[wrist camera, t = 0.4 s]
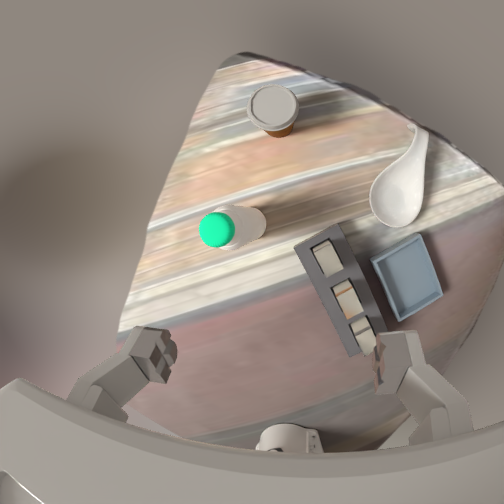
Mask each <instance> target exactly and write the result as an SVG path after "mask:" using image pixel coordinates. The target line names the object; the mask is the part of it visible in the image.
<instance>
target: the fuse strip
mask: <svg viewBox="0 0 504 504" xmlns="http://www.w3.org/2000/svg"><path fill="white" fill-rule="evenodd" d="M326 240H328V241H329V242H330V243H331V244H332V246H333V248H334V250H335V252H336V254H337V256H338V258H339V260H340V262H341V264H342V266H343V268H344V269H342V270H340V271H338V272H337V273H335V274H333V275H331V276H329V277H327V278H326V276H325V274H324V272H323V270H322V268H321V266H320V264H319V262H318V260H317V258H316V257H315V255H314V252H313V247H314V246H316V245H318V244H320V243H322V242H324V241H326ZM294 250H295V251H296V253H297V255H298V257H299V259H300V261H301V263H302V265H303V266H304V268H305V270H306V272H307V274H308V276H309V278H310V280H311V282H312V284H313V285H314V287H315V289H316V291H317V293H318V295H319V297H320V299H321V301H322V303H323V305H324V307H325V309H326V311H327V313H328V315H329V317H330V319H331V321H332V323H333V325H334V327H335V329H336V331H337V333H338V335H339V337H340V339H341V341H342V343H343V345H344V347H345V349H346V351H347V353H348V355H349V357H352V356H354V355H356V354H358V353H360V352H362V350H361V348H360V346H359V344H358V342H357V340H356V337H355V335H354V332H353V329H352V327H351V324H350V323H352V322H354V321H356V320H358V319H360V318H362V317H363V316H365V317H366V319H367V321H368V323H369V324H370V326H371V328H372V331H373V333H374V335H375V337H376V336H377V334H378V333H383V332H388V330H387V327H386V325H385V322H384V320H383V318H382V315H381V313H380V311H379V308H378V306H377V304H376V301H375V299H374V297H373V295H372V292H371V290H370V288H369V286H368V283H367V281H366V279H365V277H364V275H363V273H362V271H361V268H360V266H359V264H358V262H357V260H356V258H355V256H354V254H353V252H352V250H351V248H350V246H349V244H348V242H347V240H346V238H345V236H344V234H343V232H342V230H341V228H340V226H339V224H337V223H336V224H334V225H332V226H330V227H328V228H327V229H325V230H323V231H321V232H319V233H317V234H315V235H314V236H312V237H310V238H308V239H306V240H304V241H302V242H301V243H299V244H297V245H295V246H294ZM346 279H348V281H349V282H350V284H351V285H352V287H353V289H354V291H355V293H356V295H357V297H358V300H359V302H360V304H361V306H362V308H363V310H364V311H363V312H361V313H359V314H357V315H355V316H353V317H351V318H349V319H347V318H346V316H345V314H344V312H343V310H342V308H341V306H340V304H339V302H338V300H337V298H336V295H335V292H334V289H333V287H332V286H334V285H336V284H338V283H340V282H342V281H344V280H346Z"/></svg>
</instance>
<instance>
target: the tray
mask: <svg viewBox="0 0 504 504" xmlns="http://www.w3.org/2000/svg"><path fill="white" fill-rule="evenodd" d="M370 261H371V263H372V266H373V268H374V270H375V272H376V274H377V276H378V279H379V281H380V283H381V286H382V288H383V290H384V292H385V295H386V297H387V299H388V302H389V304H390V307H391V309H392V312H393V314H394V317H395V318H396V319H397V320H398V322H400V321H402V320H404V319H405V318H407V317H409V316H410V315H412V314H414V313H416V312H417V311H419V310H421V309H422V308H424V307H426V306H427V305H429V304H430V303H432V302H434V301H435V300H437V299H438V298H440V297H442V296H443V292H442V289H441V286H440V283H439V280H438V278H437V275H436V272H435V269H434V267H433V264H432V261H431V259H430V256H429V253H428V251H427V248H426V246H425V243H424V241H423V239H422V236H421V234H419V233H413V234H412V235H410V236H408V237H407V238H405V239H403V240H401V241H400V242H398V243H396V244H395V245H393V246H391V247H389V248H388V249H386V250H384V251H382V252H380V253H379V254H377V255H375V256H373V257H371V258H370Z"/></svg>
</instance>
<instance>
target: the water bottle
mask: <svg viewBox="0 0 504 504" xmlns="http://www.w3.org/2000/svg"><path fill="white" fill-rule="evenodd" d="M199 226H200V227H199V232H200V233H199V234H200V237H201V238H202V240H203V242H205V244H207V245H208V246H211V247H218V248H221V249H223V250H235V249H238V248H240V247H242V246H244V245H246V244H248V243H250V242H252V241H254V240H256V239H258V238H260V237H261V236H262V235H263V233H264V232H265V229H266V219H265V216H264V215H263V213H262V212H261V211H259V210H258V209H256V208H252V207H243V206H235V205H224V206H221V207H219V208H217V209H216V210H214V211H213V212H212V213H210V214H208V215H206V216H205V217H204V218H203V219H202V221H201V222H200V225H199Z"/></svg>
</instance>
